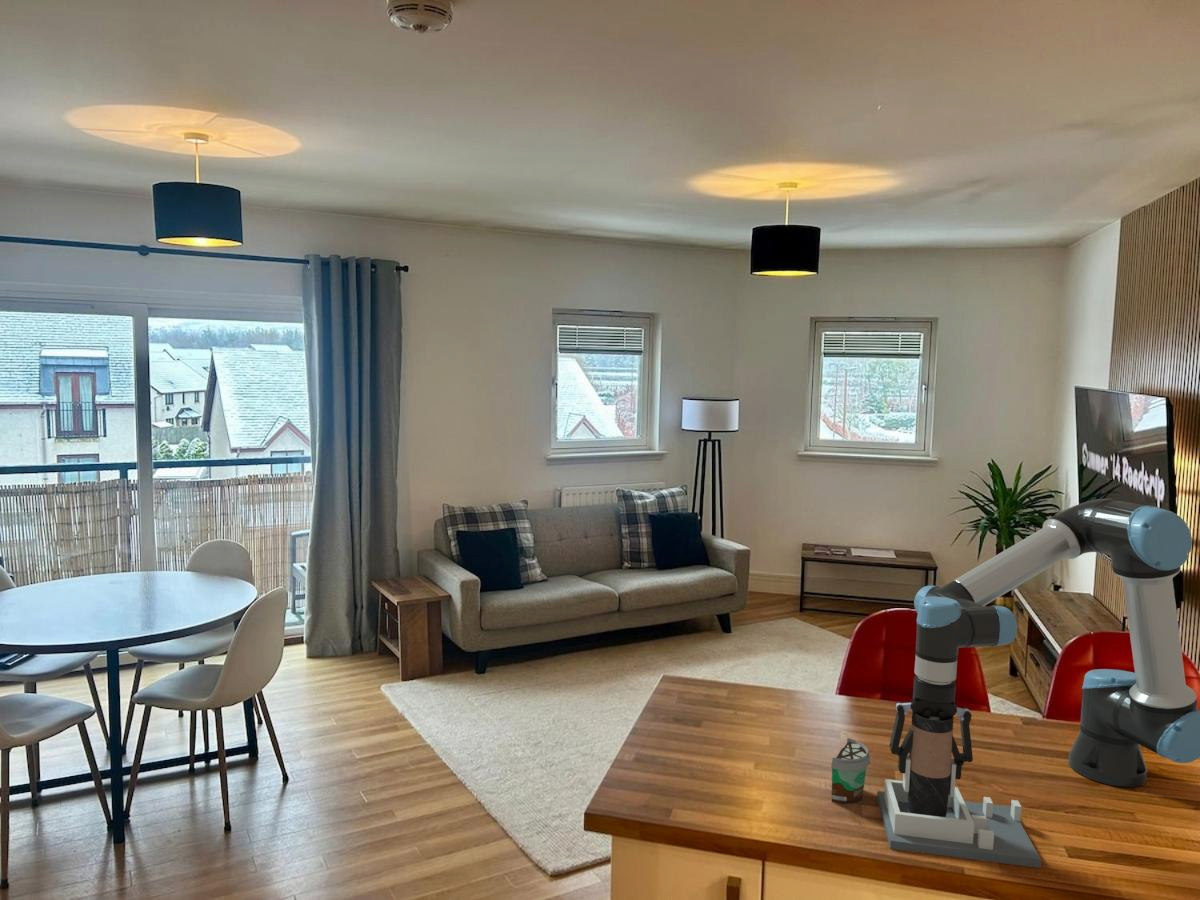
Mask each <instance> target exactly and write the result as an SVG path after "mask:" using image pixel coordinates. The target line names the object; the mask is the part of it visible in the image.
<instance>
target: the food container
mask: <svg viewBox="0 0 1200 900" xmlns="http://www.w3.org/2000/svg"><path fill="white" fill-rule="evenodd" d="M846 740H847V741H846V744H845V746H843V747H842V748H841V749H840V750H839V752H838V754H837V756H836V757H832V760H831V766H830V769H832V770H831V803H835V804H840V805H853V804H857V803H859V802H861V801H862V799H863V797H864V789H865V781H866V779H865V778H866V771H867V767H869V765H870V764H871V756H870V752H869V750H868V748H867V746H865V744H863V743H862V742H860V741H858V740H856V739H853V738H849V737H847V739H846Z"/></svg>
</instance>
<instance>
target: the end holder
mask: <svg viewBox="0 0 1200 900" xmlns="http://www.w3.org/2000/svg"><path fill="white" fill-rule="evenodd" d="M883 792H884V799H885V803H886V806H887V810H888V813H889V817H890V821H891V824H892V828H893V832H894V834H897V835H905V836H913V837H921V838H929V839H937V840H945V841H953V842H961V843H969V844H973V835H974V822H973V820H972V817H971V815H970V813H969V811H968V809H967V807H966V804H965V802H964V801H965V800H964V798H963V796H962V794H961V792H960V790H959V788H958V786H955V793H954V797H950V795H948V805H947V807H949V808H952V809H953V811H954V813H955V816H956V818H957V819H955V818H946V817H938V816H930V815H921V814H913V813H905V812H900V810H899V807H898V804H897V801H898V802H906V803H908V792H905V791H904V788H903V780H898V779H897V780H896V779H888V778H885V779H884V791H883Z"/></svg>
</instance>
